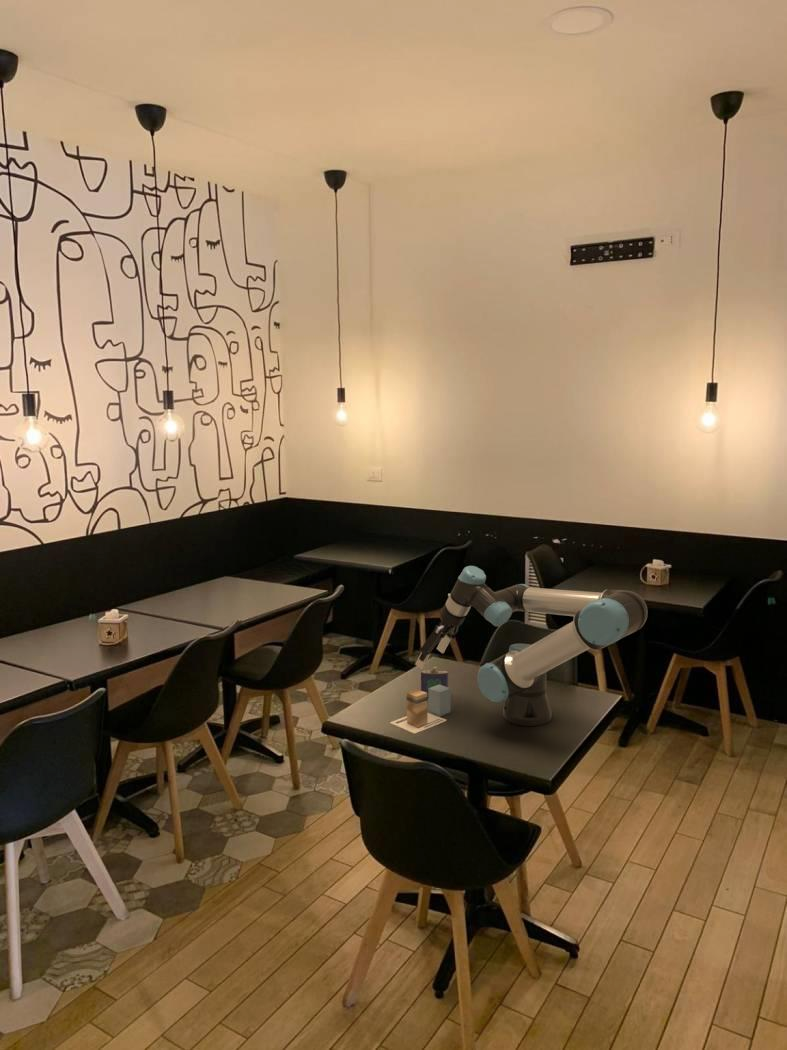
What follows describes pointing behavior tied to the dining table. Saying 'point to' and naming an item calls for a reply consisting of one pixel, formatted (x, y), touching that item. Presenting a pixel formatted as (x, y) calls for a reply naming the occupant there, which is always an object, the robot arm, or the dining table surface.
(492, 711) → the dining table surface
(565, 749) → the dining table surface
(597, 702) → the dining table surface
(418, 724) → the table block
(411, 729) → the menu card
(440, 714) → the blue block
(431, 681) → the flask
